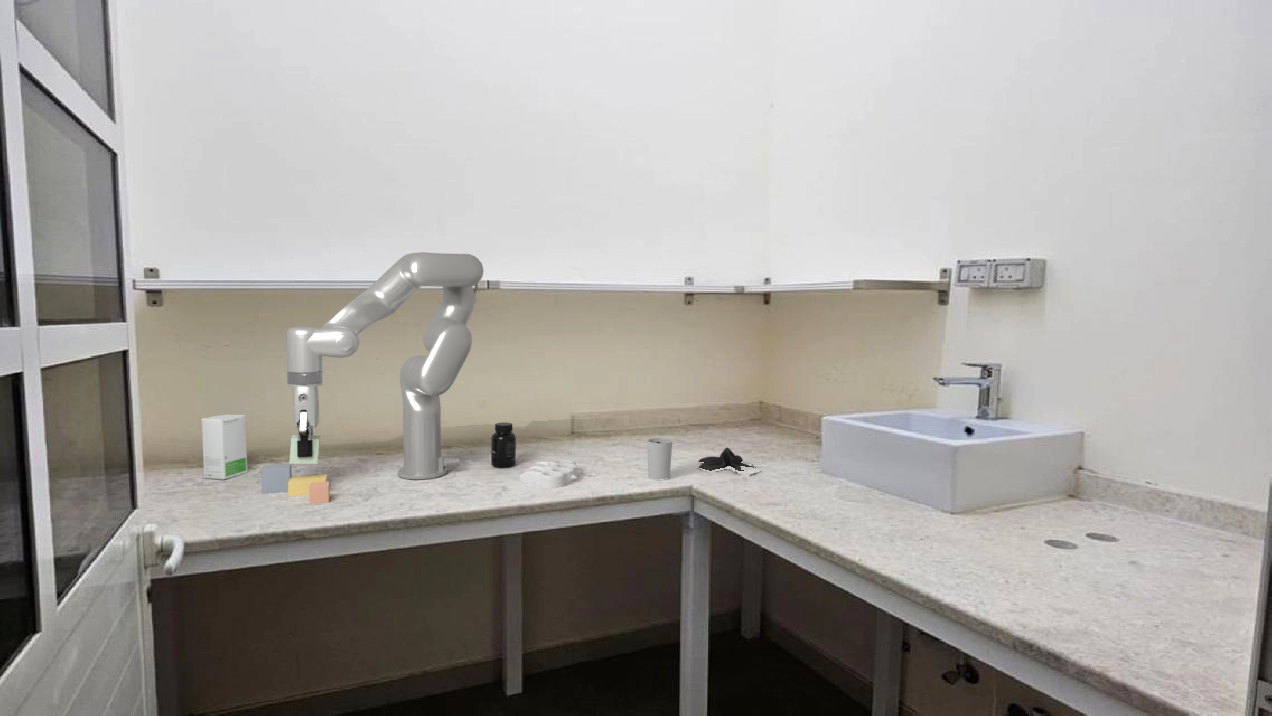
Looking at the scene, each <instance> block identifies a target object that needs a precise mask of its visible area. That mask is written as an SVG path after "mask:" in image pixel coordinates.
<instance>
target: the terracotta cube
mask: <svg viewBox="0 0 1272 716" xmlns="http://www.w3.org/2000/svg"><path fill="white" fill-rule="evenodd" d="M330 491H331V489H330V481H327V482H317V483H310V486H309V495H308V499H309V500H308V501H309V502H308V504H310V505H317V504H319V505H320V503H321V504H329V503H330V499H331V497H330V496H331V495H330V493H331V492H330Z"/></svg>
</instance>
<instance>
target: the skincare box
mask: <svg viewBox="0 0 1272 716" xmlns="http://www.w3.org/2000/svg"><path fill="white" fill-rule="evenodd" d="M246 426H247V425H246V415H245V414H220V415H214V416H207V417H204V418H201V431H202V432H201V434H202V435H201V437H202V439H201V440H202V453H203V454H202V456H203V457H202V458H203V479H207V480H227V479H230V478H234V477H237V476H240V475H241V476H242V475H243V474H247V473H248V455H247V452H248V451H247V428H246Z"/></svg>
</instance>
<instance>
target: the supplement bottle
mask: <svg viewBox="0 0 1272 716" xmlns="http://www.w3.org/2000/svg"><path fill="white" fill-rule="evenodd" d="M513 430H514V429H513V423H511V422H506V421H505V422H504V421H503V422H496V423H495V425H494V431H495V432H494V433H493V434H492V435H491V439H490V440H491V443H490V445H491V446H490V449H491V451H490V452H491V453H490V456H491V458H490V460H491V461H490V464H491V466H492V467H493V468H496V469H510V468H513V467H515V466H516V463H517V462H516V461H517V455H516V454H517V435H516V434H515V433H514V432H513Z"/></svg>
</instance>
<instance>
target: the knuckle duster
mask: <svg viewBox="0 0 1272 716" xmlns="http://www.w3.org/2000/svg"><path fill="white" fill-rule="evenodd" d="M577 468H578V466H577V462H576V461H575V460H573V459H557V460H554V461H536V462H535V463H533V464H531V466H530V467H528V468H526V470H525V471H524V472H522V473H521V474H520V475H519V480H520V482H522V483H523V484H535V485H536V484H537V485H539V486H540V487H542V488H544V487H545V489H560V488H559V487H561V488H564V486H565V485H567V484H571V483H574V482H575V481H574V480H576V479H578V475H579V474H582V473H583V471H581V470H579V469H577Z"/></svg>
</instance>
